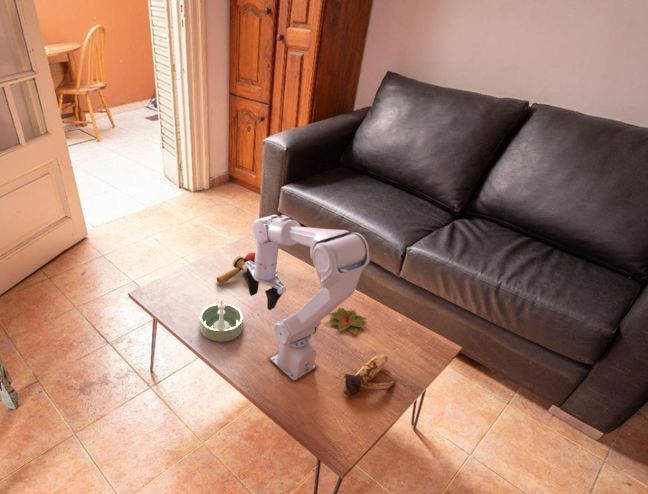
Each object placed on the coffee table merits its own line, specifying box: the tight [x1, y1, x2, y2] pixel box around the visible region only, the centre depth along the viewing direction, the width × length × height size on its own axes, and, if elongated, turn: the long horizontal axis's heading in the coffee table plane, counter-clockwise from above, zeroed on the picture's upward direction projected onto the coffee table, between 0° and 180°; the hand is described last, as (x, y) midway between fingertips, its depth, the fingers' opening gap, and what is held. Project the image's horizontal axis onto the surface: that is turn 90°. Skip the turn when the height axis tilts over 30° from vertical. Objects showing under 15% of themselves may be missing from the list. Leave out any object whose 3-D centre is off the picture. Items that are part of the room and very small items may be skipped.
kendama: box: [216, 252, 255, 286], centre depth 144 cm, size 8×6×18 cm
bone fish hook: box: [343, 353, 395, 398], centre depth 109 cm, size 9×5×18 cm
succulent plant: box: [327, 306, 367, 336], centre depth 127 cm, size 12×12×5 cm
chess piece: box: [213, 299, 230, 330], centre depth 122 cm, size 5×5×10 cm
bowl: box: [199, 302, 244, 342], centre depth 124 cm, size 12×12×4 cm
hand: (262, 301), depth 119 cm, fingers open, 7 cm apart
